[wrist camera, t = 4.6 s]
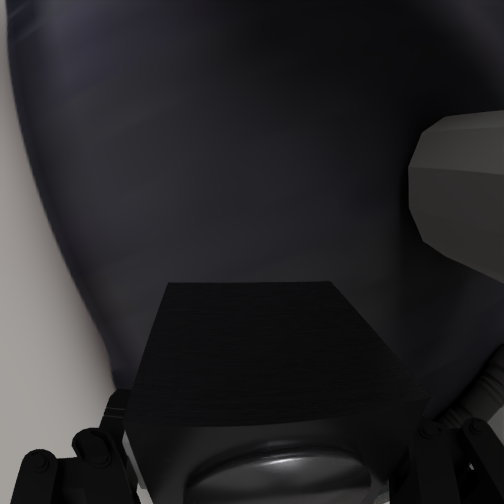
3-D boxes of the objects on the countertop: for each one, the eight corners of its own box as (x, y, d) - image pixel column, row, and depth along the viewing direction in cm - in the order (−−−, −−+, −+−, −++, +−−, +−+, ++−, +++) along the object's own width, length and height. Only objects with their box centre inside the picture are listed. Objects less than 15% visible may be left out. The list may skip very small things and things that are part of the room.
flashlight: (501, 329, 24) (536, 352, 19) (511, 351, 25) (540, 373, 20) (399, 440, 25) (423, 475, 20) (419, 451, 27) (441, 481, 22)
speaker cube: (168, 282, 13) (118, 435, 5) (330, 281, 14) (437, 406, 6) (180, 405, 15) (170, 547, 7) (311, 400, 16) (362, 528, 8)
